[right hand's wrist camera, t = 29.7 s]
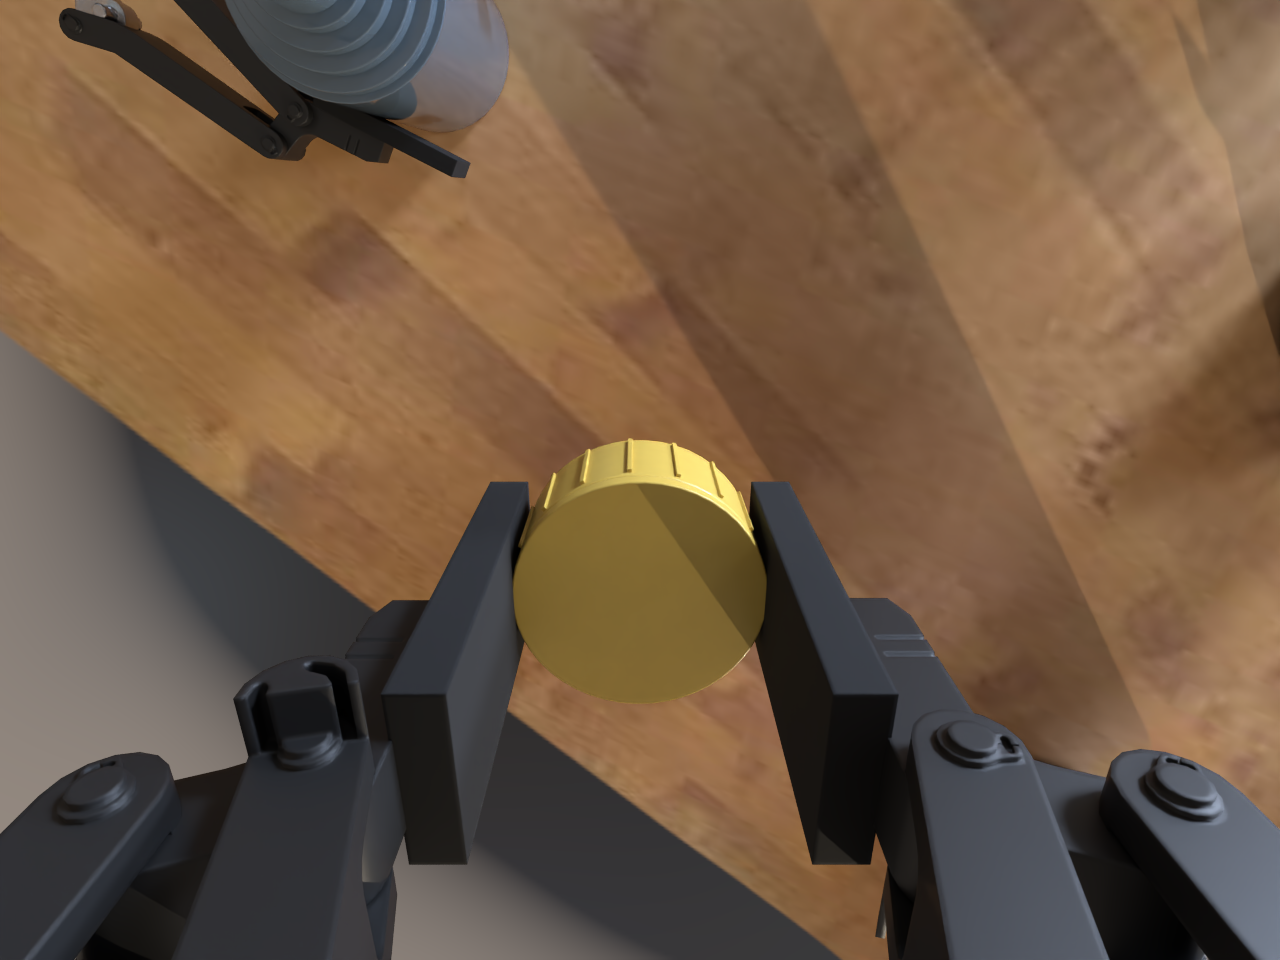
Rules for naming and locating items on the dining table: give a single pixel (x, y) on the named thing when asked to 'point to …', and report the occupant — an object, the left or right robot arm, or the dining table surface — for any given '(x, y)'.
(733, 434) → the dining table surface
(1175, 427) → the dining table surface
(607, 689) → the cap
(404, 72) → the bottle
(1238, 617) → the dining table surface
